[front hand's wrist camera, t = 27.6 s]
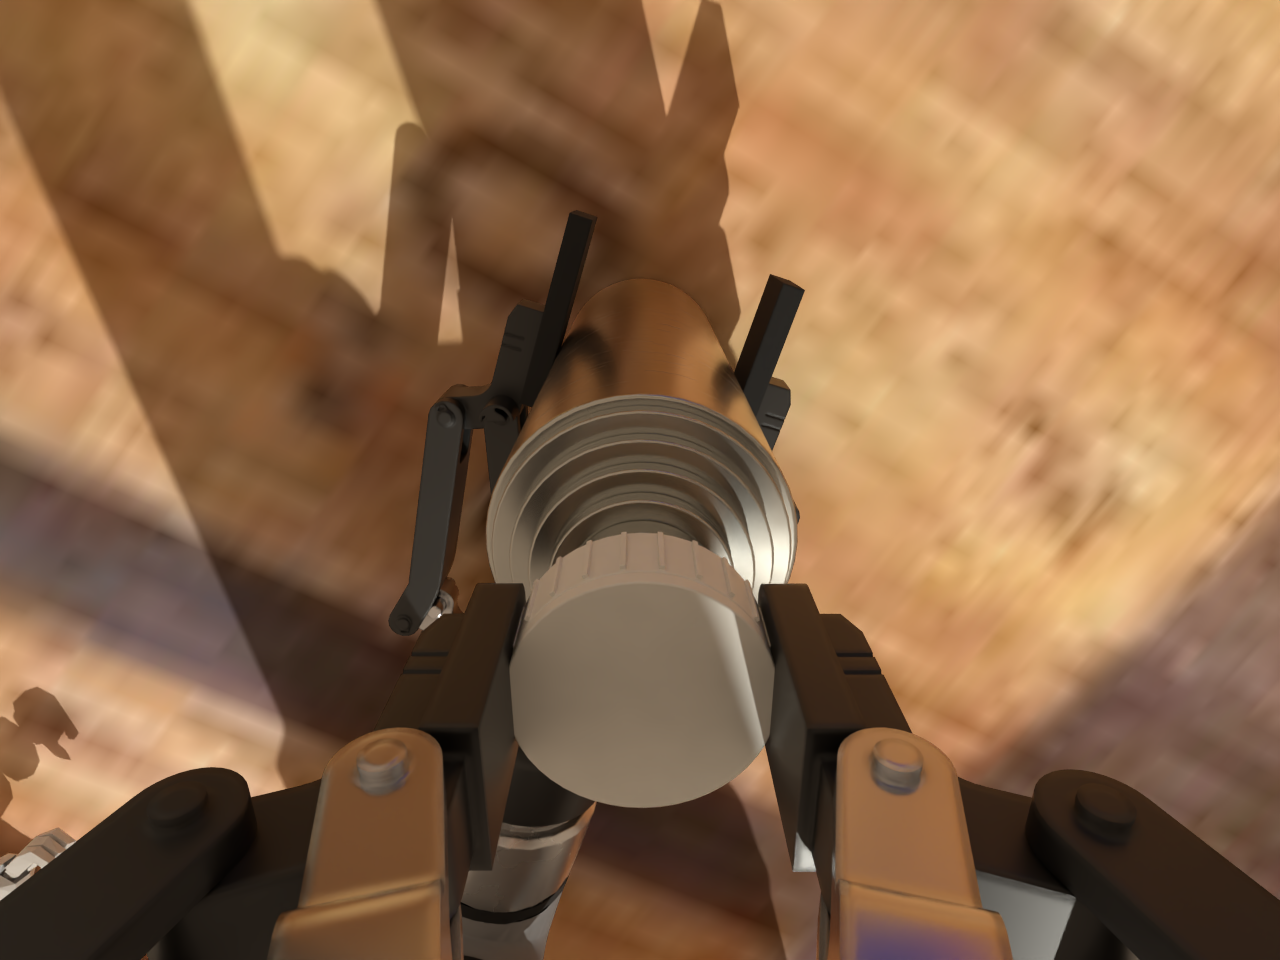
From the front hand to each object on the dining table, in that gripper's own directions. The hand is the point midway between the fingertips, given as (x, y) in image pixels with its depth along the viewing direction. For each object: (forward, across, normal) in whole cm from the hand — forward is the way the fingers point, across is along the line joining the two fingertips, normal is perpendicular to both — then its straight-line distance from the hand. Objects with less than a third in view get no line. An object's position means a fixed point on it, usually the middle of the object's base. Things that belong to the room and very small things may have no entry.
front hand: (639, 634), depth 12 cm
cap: (-1, 0, 0) cm, 1 cm away
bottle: (+22, 0, 0) cm, 22 cm away
